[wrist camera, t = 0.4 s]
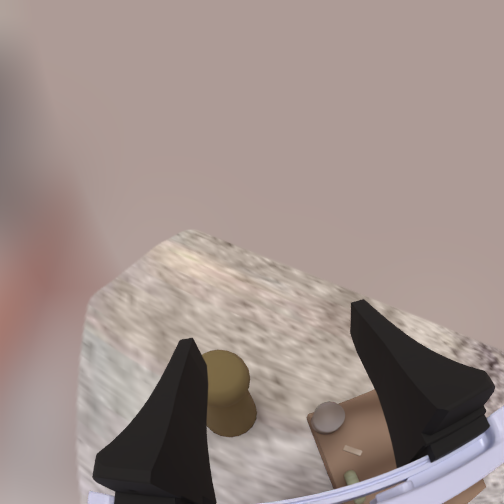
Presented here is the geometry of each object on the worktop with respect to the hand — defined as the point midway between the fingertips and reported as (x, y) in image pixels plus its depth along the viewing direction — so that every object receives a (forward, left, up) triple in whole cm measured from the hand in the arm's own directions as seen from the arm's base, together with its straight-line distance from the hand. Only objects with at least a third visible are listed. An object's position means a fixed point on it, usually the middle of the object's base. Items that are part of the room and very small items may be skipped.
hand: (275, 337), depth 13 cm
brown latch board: (-8, -13, -21) cm, 26 cm away
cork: (+5, +3, -21) cm, 22 cm away
